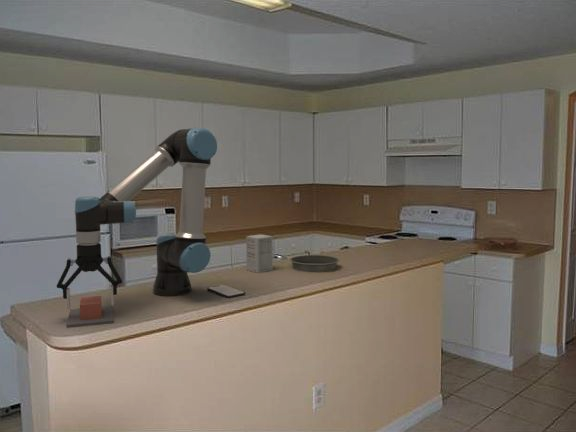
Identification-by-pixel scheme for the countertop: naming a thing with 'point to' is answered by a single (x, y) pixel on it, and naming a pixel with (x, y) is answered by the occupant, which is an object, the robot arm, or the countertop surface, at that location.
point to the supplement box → (259, 253)
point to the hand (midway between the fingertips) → (90, 306)
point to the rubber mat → (75, 319)
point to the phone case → (225, 291)
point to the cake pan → (314, 263)
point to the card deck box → (90, 308)
